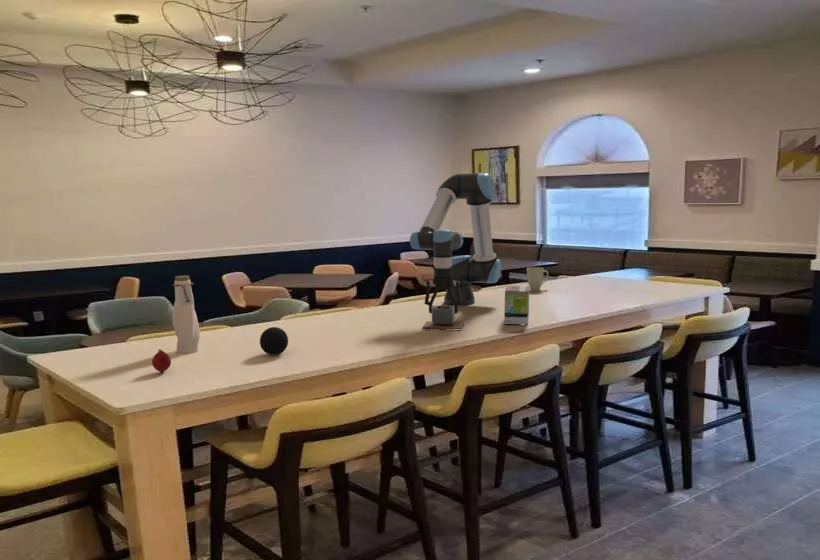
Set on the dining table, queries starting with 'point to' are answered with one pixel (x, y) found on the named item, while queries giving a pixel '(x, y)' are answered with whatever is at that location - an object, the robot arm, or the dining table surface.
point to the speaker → (273, 341)
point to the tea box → (516, 305)
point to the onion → (161, 361)
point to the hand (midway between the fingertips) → (443, 321)
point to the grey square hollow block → (442, 315)
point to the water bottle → (185, 316)
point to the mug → (535, 277)
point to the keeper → (430, 325)
